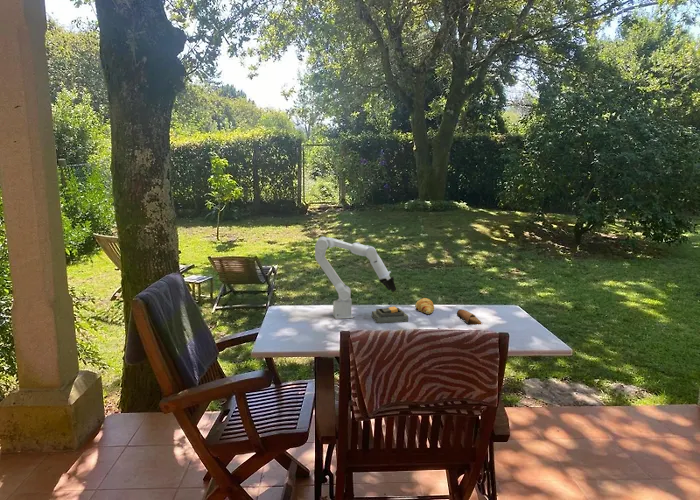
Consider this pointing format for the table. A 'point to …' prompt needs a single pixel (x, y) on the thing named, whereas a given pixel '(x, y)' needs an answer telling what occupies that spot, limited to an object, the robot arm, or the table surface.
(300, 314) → the table surface
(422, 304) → the croissant
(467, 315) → the brown pointed cylinder
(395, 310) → the breaker switch
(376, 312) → the breaker box
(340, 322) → the table surface
